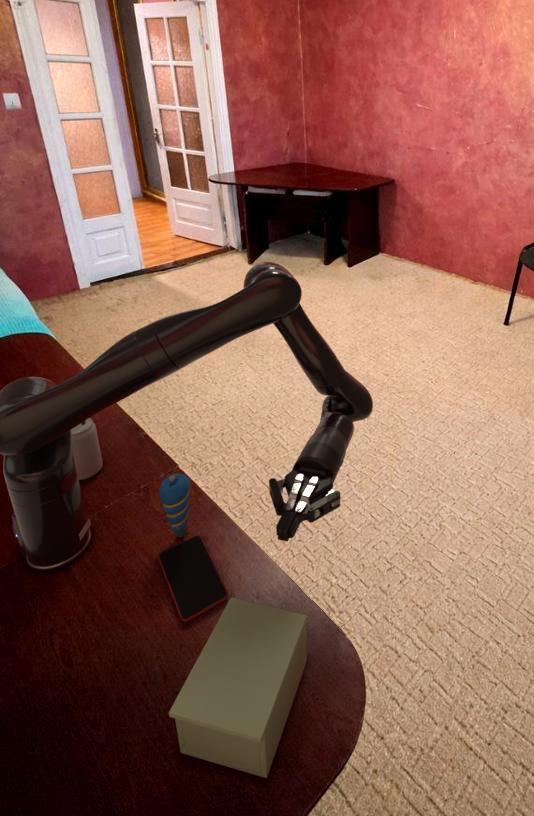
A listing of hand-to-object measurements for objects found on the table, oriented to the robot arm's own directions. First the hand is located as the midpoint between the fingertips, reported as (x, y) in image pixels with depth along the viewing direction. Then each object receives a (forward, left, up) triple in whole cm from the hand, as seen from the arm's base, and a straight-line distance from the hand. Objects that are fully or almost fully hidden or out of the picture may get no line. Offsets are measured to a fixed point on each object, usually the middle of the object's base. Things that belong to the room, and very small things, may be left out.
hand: (282, 536), depth 71 cm
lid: (0, -13, -8) cm, 15 cm away
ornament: (-24, +9, -17) cm, 31 cm away
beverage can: (-53, +19, -17) cm, 59 cm away
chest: (0, -12, -17) cm, 21 cm away
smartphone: (-18, +2, -17) cm, 25 cm away
